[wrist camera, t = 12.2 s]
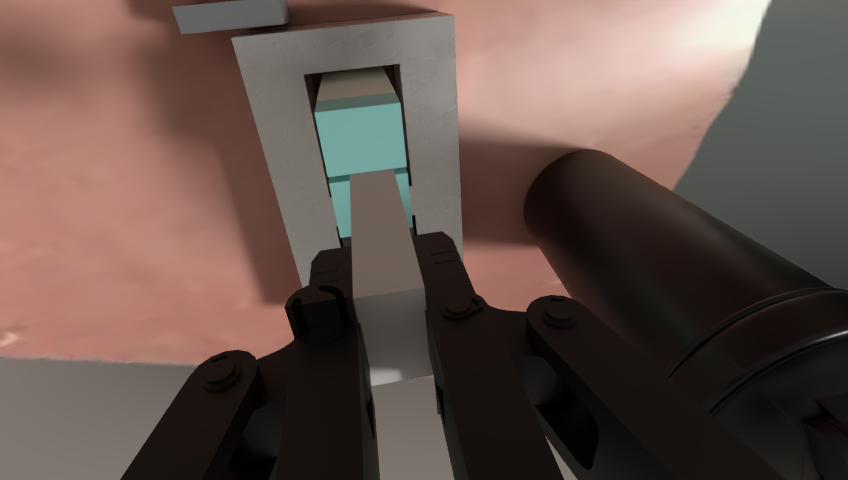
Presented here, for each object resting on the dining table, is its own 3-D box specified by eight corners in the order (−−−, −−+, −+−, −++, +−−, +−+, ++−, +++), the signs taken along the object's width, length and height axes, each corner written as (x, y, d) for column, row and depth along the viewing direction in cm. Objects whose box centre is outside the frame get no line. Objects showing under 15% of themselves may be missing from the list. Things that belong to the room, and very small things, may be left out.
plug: (323, 70, 26) (314, 111, 17) (381, 64, 26) (400, 101, 18) (340, 164, 29) (340, 238, 20) (392, 158, 29) (413, 228, 21)
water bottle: (529, 274, 36) (735, 613, 17) (498, 171, 31) (746, 490, 11) (644, 229, 36) (1000, 528, 16) (632, 116, 30) (1143, 355, 11)
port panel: (246, 30, 24) (226, 39, 20) (438, 11, 25) (458, 16, 21) (320, 305, 34) (317, 350, 30) (453, 283, 35) (468, 323, 31)
